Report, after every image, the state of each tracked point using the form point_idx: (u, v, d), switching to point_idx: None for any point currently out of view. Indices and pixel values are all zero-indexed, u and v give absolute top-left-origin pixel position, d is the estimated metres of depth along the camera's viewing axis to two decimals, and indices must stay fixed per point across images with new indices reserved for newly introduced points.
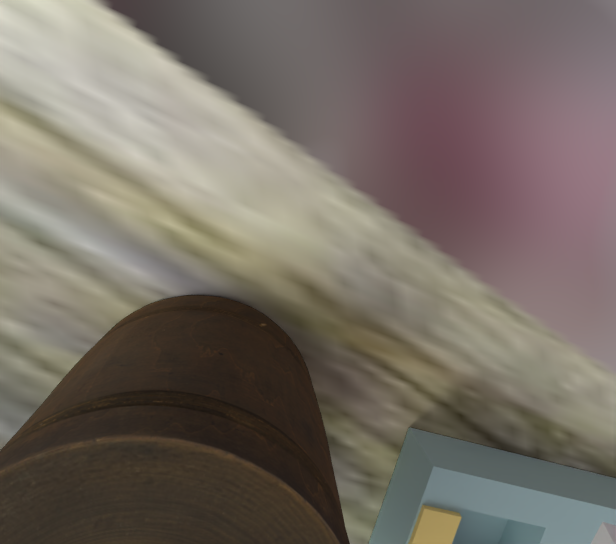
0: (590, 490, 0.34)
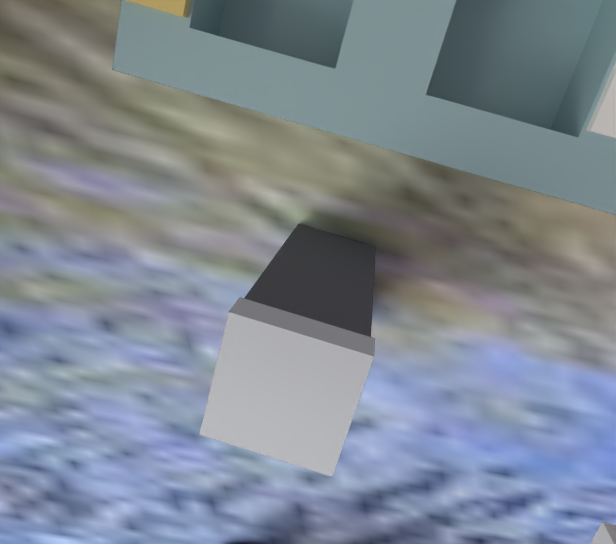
0: None
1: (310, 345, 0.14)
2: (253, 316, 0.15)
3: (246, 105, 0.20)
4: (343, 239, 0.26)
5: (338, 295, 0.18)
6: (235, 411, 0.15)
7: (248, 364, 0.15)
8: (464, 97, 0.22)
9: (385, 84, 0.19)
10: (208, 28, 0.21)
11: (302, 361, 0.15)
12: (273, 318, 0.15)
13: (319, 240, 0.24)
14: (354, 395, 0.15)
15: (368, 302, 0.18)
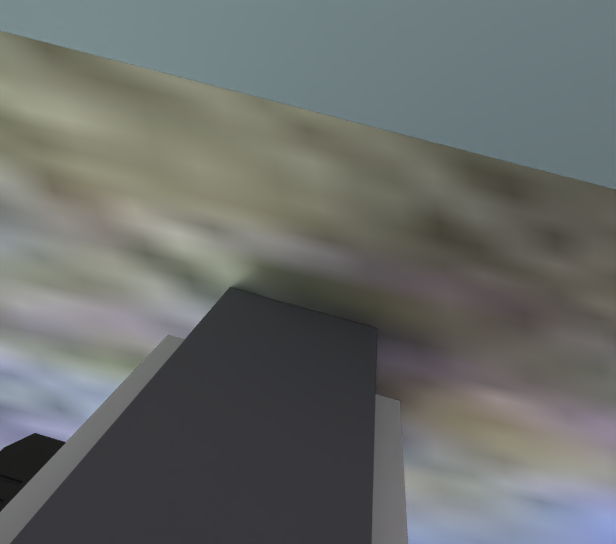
0: None
1: None
2: None
3: (26, 29, 0.08)
4: (315, 317, 0.13)
5: None
6: None
7: None
8: None
9: None
10: None
11: None
12: None
13: (262, 329, 0.12)
14: None
15: None
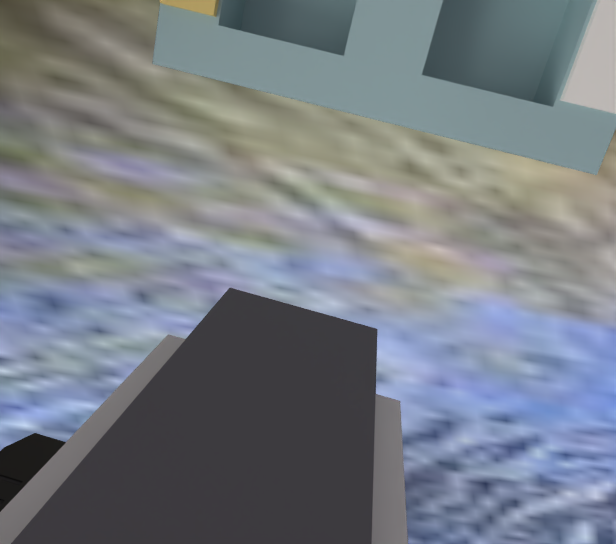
0: None
1: None
2: None
3: (268, 90, 0.23)
4: (314, 317, 0.13)
5: None
6: None
7: None
8: (456, 78, 0.25)
9: (387, 67, 0.22)
10: (232, 25, 0.24)
11: None
12: None
13: (262, 330, 0.12)
14: None
15: None
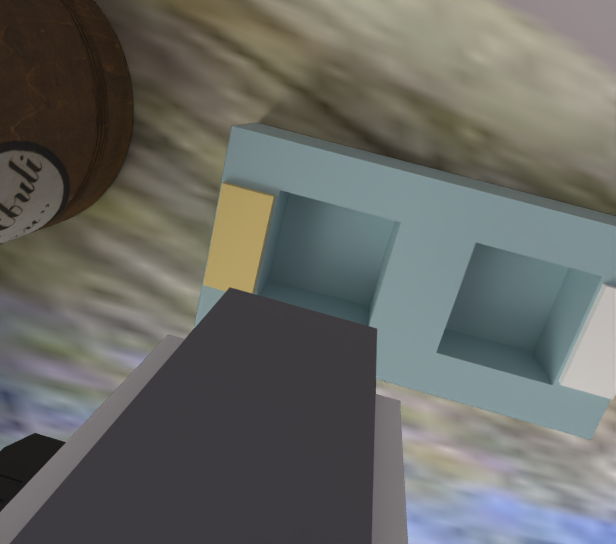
0: (487, 188, 0.24)
1: None
2: None
3: None
4: (314, 317, 0.13)
5: None
6: None
7: None
8: (465, 325, 0.28)
9: (405, 345, 0.25)
10: (264, 283, 0.27)
11: None
12: None
13: (262, 329, 0.12)
14: None
15: None
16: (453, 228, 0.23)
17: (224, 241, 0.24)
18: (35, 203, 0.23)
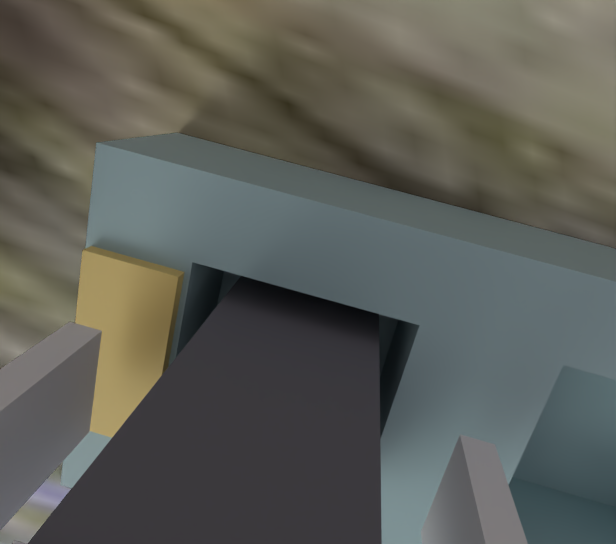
0: (578, 257, 0.13)
1: None
2: None
3: None
4: None
5: (304, 453, 0.08)
6: None
7: None
8: (520, 467, 0.17)
9: None
10: None
11: None
12: None
13: (283, 294, 0.14)
14: None
15: (371, 464, 0.08)
16: (520, 339, 0.12)
17: None
18: None
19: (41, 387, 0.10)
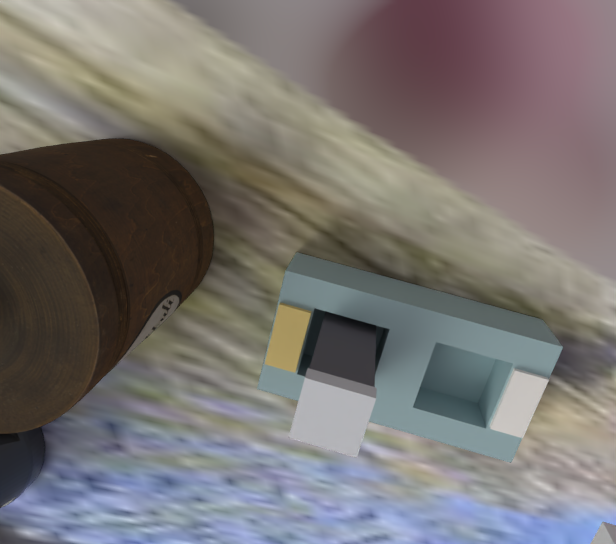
0: (444, 305, 0.38)
1: (345, 393, 0.30)
2: (316, 379, 0.30)
3: None
4: None
5: (356, 360, 0.34)
6: (307, 426, 0.31)
7: (314, 402, 0.30)
8: (433, 385, 0.42)
9: (393, 402, 0.39)
10: (301, 359, 0.41)
11: (341, 401, 0.30)
12: (326, 379, 0.30)
13: (342, 317, 0.40)
14: (367, 416, 0.30)
15: (372, 363, 0.34)
16: (422, 333, 0.37)
17: (279, 338, 0.39)
18: (165, 318, 0.37)
19: None
